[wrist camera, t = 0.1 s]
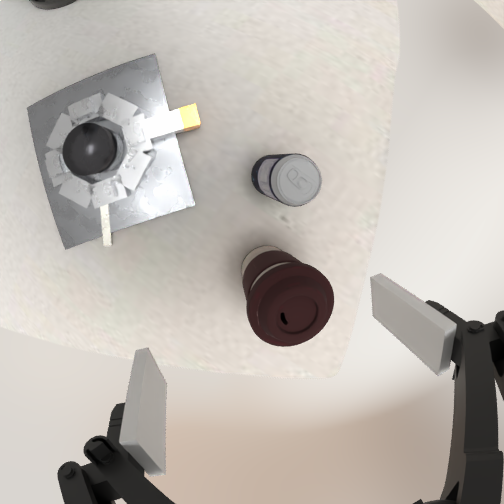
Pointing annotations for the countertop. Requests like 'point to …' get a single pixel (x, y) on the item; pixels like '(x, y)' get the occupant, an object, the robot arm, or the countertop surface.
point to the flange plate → (158, 175)
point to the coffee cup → (285, 297)
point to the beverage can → (287, 178)
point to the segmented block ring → (136, 137)
